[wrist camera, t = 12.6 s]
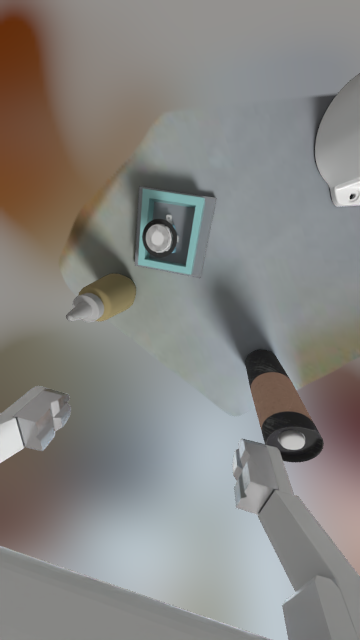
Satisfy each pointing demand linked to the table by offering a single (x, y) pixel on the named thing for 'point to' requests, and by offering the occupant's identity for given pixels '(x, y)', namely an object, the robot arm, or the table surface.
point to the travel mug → (281, 409)
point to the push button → (160, 237)
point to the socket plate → (190, 226)
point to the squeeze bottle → (103, 299)
